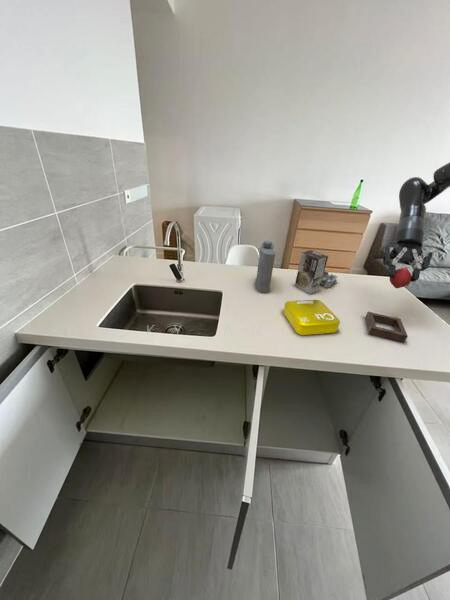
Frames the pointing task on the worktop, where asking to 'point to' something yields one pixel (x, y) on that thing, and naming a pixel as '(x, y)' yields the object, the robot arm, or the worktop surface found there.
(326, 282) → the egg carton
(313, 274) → the coffee box
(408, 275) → the onion
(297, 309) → the element tile
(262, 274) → the flask
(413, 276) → the robot arm
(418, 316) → the worktop surface
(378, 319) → the tray
